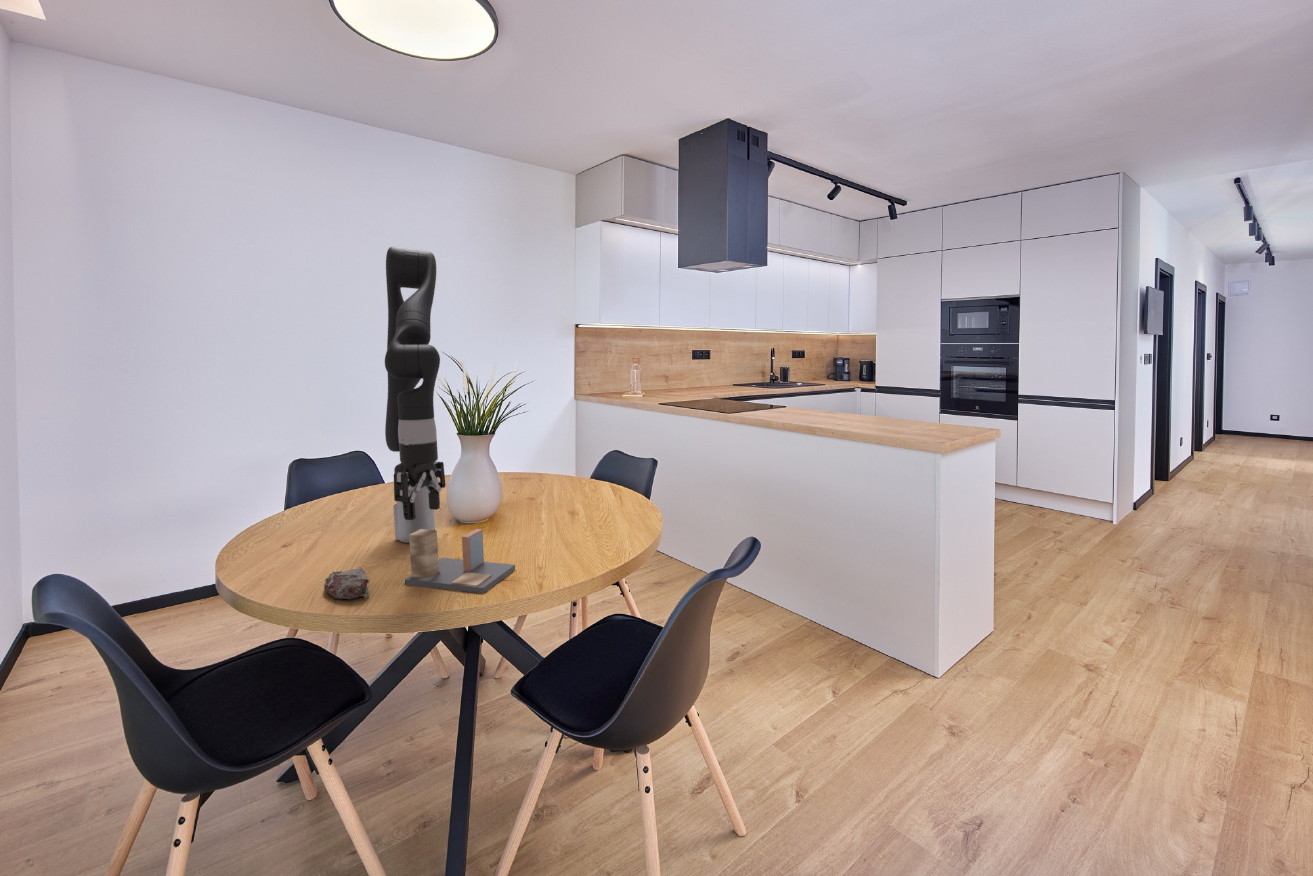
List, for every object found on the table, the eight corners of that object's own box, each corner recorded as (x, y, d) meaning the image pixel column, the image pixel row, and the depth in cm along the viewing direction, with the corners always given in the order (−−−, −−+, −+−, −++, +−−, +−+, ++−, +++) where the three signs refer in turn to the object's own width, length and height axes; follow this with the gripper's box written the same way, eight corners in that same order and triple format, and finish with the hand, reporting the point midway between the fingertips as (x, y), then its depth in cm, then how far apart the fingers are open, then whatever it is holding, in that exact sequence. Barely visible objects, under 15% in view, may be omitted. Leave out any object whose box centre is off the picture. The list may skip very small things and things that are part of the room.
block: (410, 579, 130) (407, 534, 128) (423, 571, 134) (420, 528, 132) (428, 581, 129) (425, 536, 127) (440, 573, 133) (437, 530, 131)
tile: (463, 571, 134) (461, 536, 133) (477, 561, 140) (476, 528, 139) (470, 571, 134) (468, 537, 133) (484, 562, 140) (483, 529, 139)
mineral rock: (322, 584, 130) (321, 565, 129) (363, 577, 134) (362, 558, 134) (327, 610, 118) (325, 589, 117) (371, 601, 122) (370, 580, 121)
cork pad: (451, 584, 127) (451, 582, 127) (466, 574, 133) (466, 572, 133) (476, 587, 125) (476, 585, 125) (491, 576, 131) (491, 574, 131)
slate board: (404, 584, 130) (404, 579, 130) (442, 562, 143) (442, 557, 143) (483, 593, 125) (483, 587, 125) (515, 569, 139) (514, 564, 138)
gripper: (423, 434, 135) (427, 505, 137) (379, 444, 121) (385, 522, 123) (452, 435, 133) (456, 507, 135) (411, 445, 119) (417, 524, 121)
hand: (422, 514), depth 129 cm, fingers open, 8 cm apart
